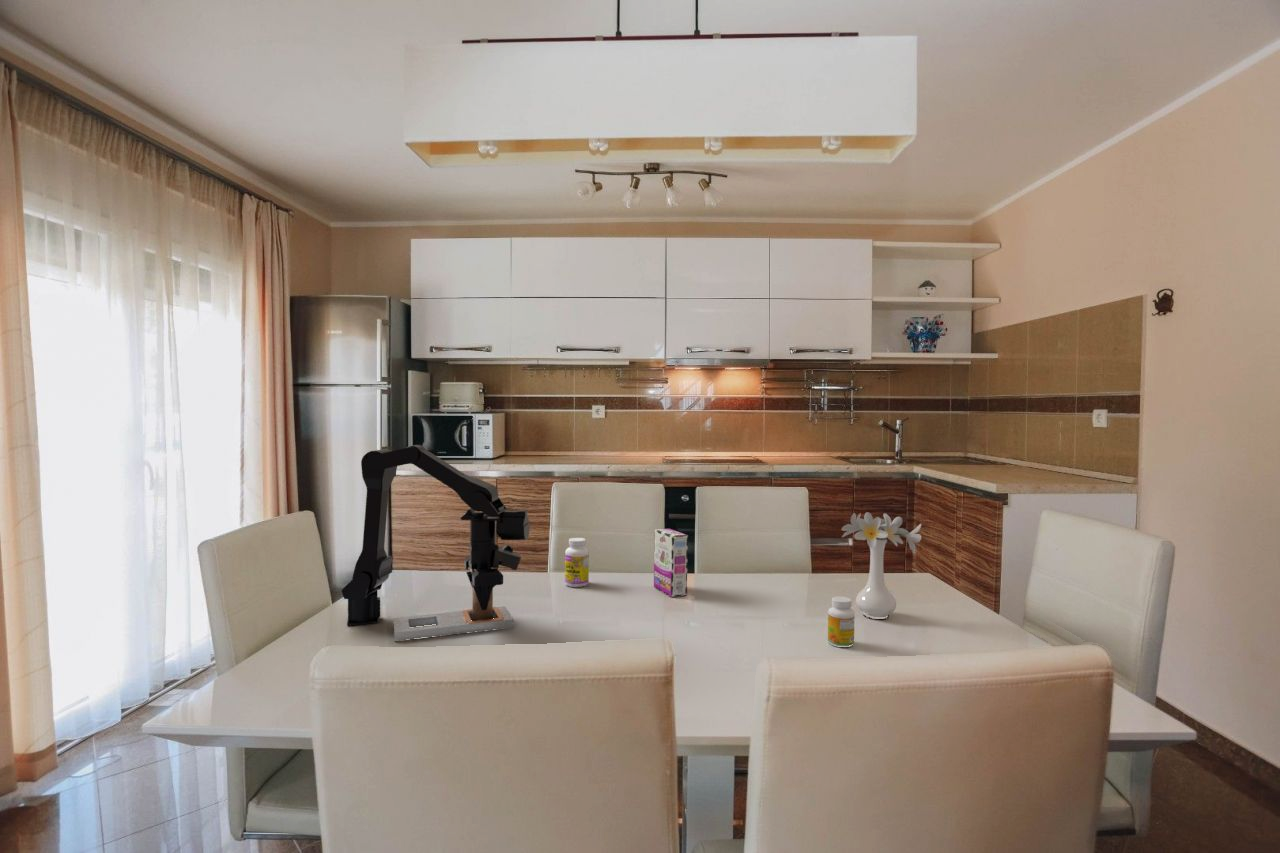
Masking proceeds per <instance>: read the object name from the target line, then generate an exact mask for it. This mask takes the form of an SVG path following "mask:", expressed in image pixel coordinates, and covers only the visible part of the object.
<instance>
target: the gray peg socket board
mask: <svg viewBox="0 0 1280 853" xmlns="http://www.w3.org/2000/svg"><path fill="white" fill-rule="evenodd" d="M493 618H494V619H485V620H476V621H471V620H472V608H470V609H463V610H458V611H457V610H456V611H450V612H438V613H430V614H429V613H428V614H420V615H412V616H411V615H410V616H403V617H402V616H399V617H394V618H393V636H394V638H395V639H394V642H395V641H400V642H402V641H401V640H406V639H414V638H421V637H432V636H440V635H449V634H458V633H467V632H475V631H484V632H486V631H485V630H492V631H494V630H493V629H500V630H503V629H502V628H509V629H514V619H513V616H512V615H511V613H510V611H508V609H507V607H506V606H505V605H504V606H498V607H497V606H493ZM432 624H436V625H432ZM424 625H432V626H424ZM416 626H423V627H416ZM409 627H414V628H409ZM475 633H476V632H475ZM467 634H468V633H467Z"/></svg>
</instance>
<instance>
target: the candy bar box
mask: <svg viewBox="0 0 1280 853" xmlns="http://www.w3.org/2000/svg"><path fill="white" fill-rule="evenodd" d="M653 548H654V552H653V554H654V556H653V558H654V559H653V588H654V587H656V588H658V589H659V590H658V589H657V590H658V591H660V590H661V591H663V592H664V593H663V592H662V593H663V594H665V593H666V594H665V595H667V596H668V595H669V596H668V597H670V596H671V597H670V598H676V597H675V596H680V597H682V596H681V595H686V596H687V595H688V557H689V556H688V554H689V553H688V551H689V535H688V534H685V533H683V532H680V531H677V530H675V529H671V528H659V529H658V528H657V529H654V547H653ZM656 588H655V589H656ZM661 591H660V592H661Z"/></svg>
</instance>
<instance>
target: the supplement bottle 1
mask: <svg viewBox="0 0 1280 853" xmlns="http://www.w3.org/2000/svg"><path fill="white" fill-rule="evenodd" d="M586 542H587V541H586V538H584V537H570V538H569V539H568V545H569V547H567V548H566V550H565V552H564V584H565V585H566V586H567V587H570V588H583V586H584V587H586V586H588V584H589V574H590V573H589V571H590V570H589V567H590V566H589V565H590V561H589V560H590V556H589V555H590V552H589V549H588V548H587V547H586Z"/></svg>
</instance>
